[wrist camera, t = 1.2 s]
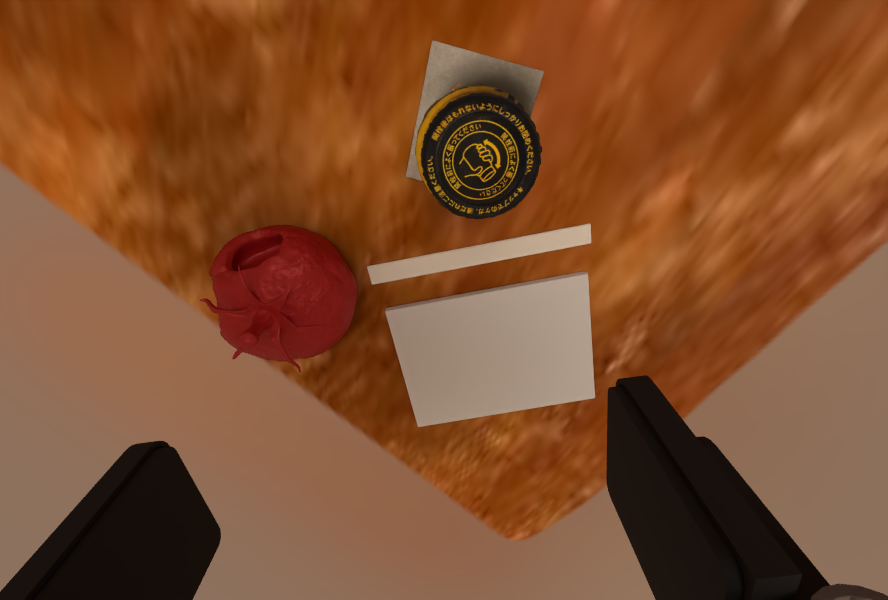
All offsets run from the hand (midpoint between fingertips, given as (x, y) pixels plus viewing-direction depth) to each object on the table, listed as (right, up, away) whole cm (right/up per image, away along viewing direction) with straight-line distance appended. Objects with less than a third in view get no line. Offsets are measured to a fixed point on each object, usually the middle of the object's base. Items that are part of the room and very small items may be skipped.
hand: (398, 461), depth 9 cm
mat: (+5, -1, +27) cm, 27 cm away
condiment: (+3, +15, +20) cm, 25 cm away
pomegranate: (-10, +5, +24) cm, 27 cm away
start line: (+4, +7, +23) cm, 24 cm away
